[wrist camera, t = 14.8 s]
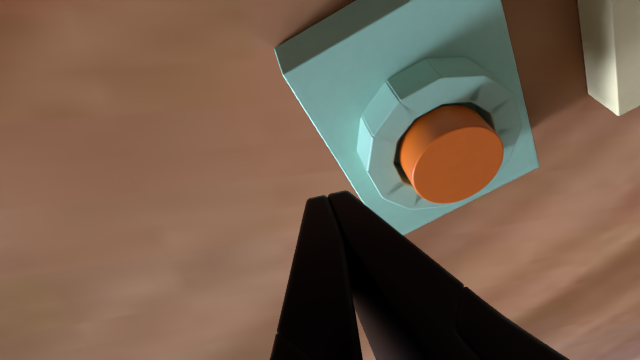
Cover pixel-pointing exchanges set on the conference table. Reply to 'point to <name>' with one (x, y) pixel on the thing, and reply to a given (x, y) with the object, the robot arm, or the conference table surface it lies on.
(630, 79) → the lock panel
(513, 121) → the button base
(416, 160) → the orange round puck
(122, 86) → the conference table surface
